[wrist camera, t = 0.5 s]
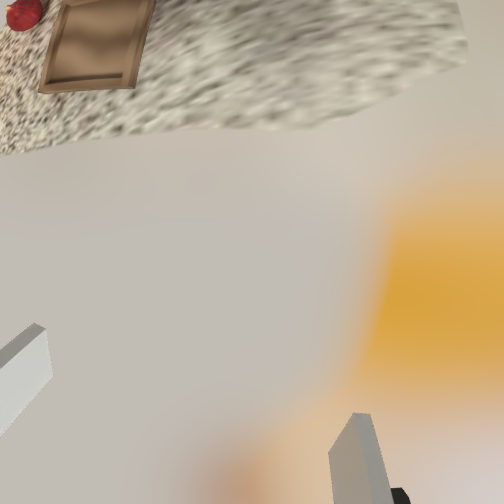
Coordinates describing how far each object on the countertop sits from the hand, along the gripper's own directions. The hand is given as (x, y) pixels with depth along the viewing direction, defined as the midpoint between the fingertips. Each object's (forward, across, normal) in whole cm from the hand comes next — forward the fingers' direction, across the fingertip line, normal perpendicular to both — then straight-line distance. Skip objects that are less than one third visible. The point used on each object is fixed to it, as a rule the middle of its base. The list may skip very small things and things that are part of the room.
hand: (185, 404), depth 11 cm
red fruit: (+27, -40, +27) cm, 55 cm away
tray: (+27, -25, +22) cm, 43 cm away
